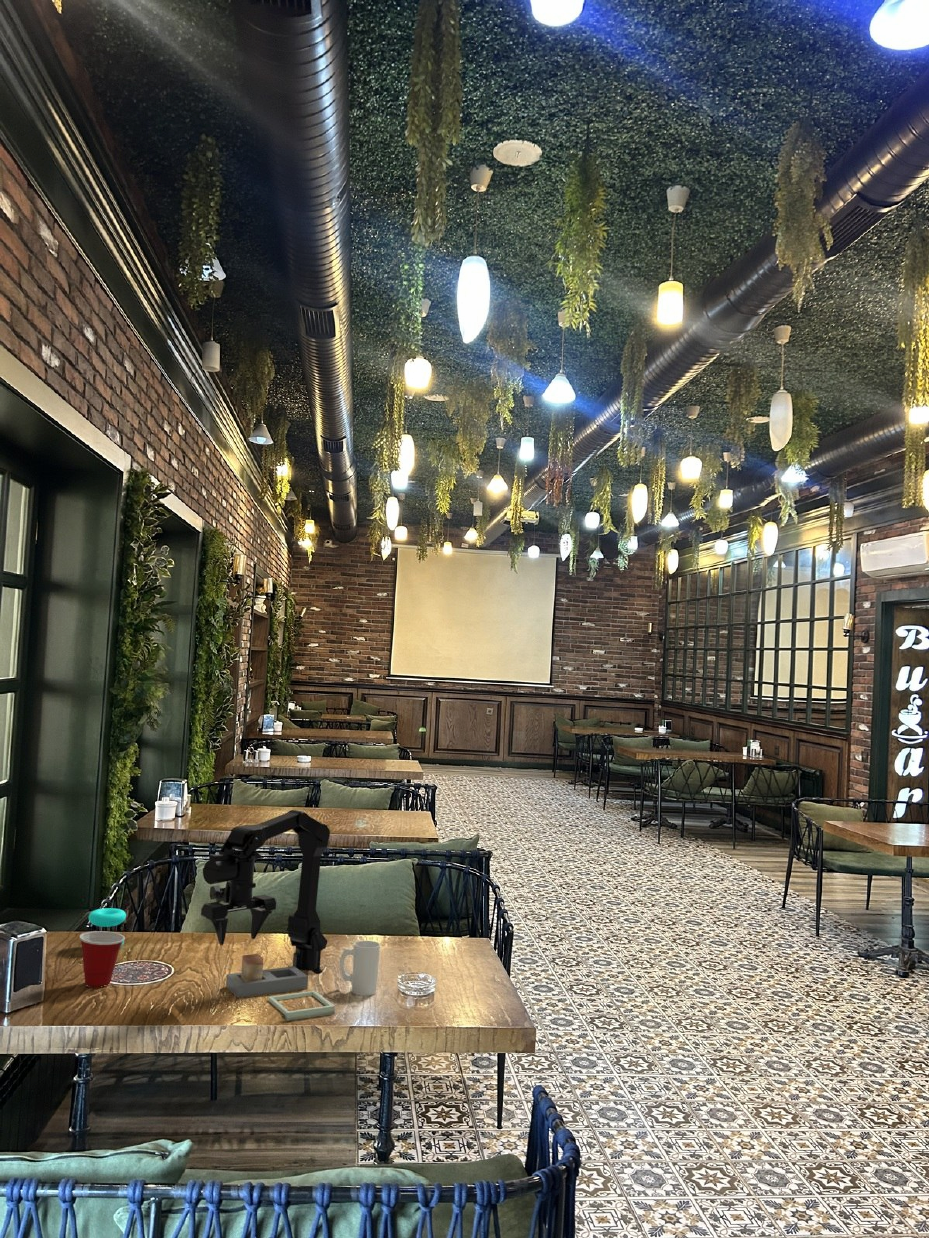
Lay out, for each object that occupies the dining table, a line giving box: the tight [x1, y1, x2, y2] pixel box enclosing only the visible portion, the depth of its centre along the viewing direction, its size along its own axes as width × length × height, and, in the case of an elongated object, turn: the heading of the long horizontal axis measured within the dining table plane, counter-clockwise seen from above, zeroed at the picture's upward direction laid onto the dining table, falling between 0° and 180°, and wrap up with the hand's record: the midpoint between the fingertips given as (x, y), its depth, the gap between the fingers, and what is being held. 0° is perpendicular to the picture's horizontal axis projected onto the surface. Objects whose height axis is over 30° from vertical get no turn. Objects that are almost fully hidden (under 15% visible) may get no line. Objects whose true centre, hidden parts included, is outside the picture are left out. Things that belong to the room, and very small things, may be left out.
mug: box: [339, 940, 381, 997], centre depth 239 cm, size 10×7×12 cm, turn 97°
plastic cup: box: [79, 930, 126, 988], centre depth 233 cm, size 11×11×12 cm
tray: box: [267, 990, 336, 1022], centre depth 224 cm, size 12×12×2 cm
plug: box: [240, 953, 264, 982], centre depth 233 cm, size 4×4×8 cm
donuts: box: [87, 907, 127, 947], centre depth 265 cm, size 10×10×10 cm
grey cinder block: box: [225, 965, 309, 999], centre depth 235 cm, size 18×9×4 cm, turn 122°
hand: (237, 941), depth 233 cm, fingers open, 9 cm apart
